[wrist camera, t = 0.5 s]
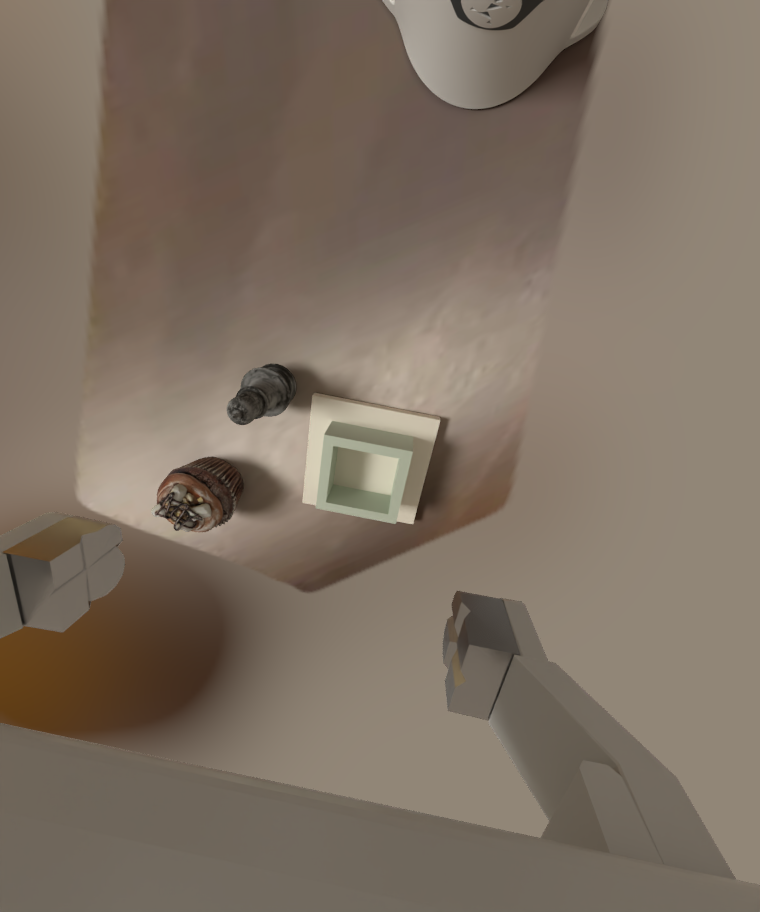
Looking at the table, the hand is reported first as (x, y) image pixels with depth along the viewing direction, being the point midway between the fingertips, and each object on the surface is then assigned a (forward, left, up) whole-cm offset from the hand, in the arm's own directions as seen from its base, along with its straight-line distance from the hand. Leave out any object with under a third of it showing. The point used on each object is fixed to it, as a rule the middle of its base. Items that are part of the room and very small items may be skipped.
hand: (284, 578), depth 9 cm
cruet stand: (+16, 0, -37) cm, 40 cm away
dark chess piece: (+8, -13, -38) cm, 41 cm away
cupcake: (+24, -21, -38) cm, 49 cm away
